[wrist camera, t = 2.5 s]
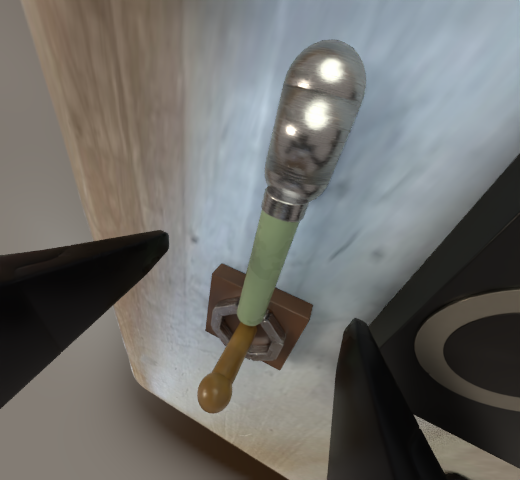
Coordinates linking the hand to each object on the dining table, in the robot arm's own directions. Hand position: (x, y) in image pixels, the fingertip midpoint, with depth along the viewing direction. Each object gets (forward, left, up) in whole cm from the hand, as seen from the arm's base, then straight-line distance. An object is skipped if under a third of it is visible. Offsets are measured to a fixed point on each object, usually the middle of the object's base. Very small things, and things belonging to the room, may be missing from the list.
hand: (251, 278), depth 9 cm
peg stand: (-9, 0, -6) cm, 11 cm away
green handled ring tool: (-2, 0, -5) cm, 6 cm away
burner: (0, -12, -3) cm, 13 cm away
